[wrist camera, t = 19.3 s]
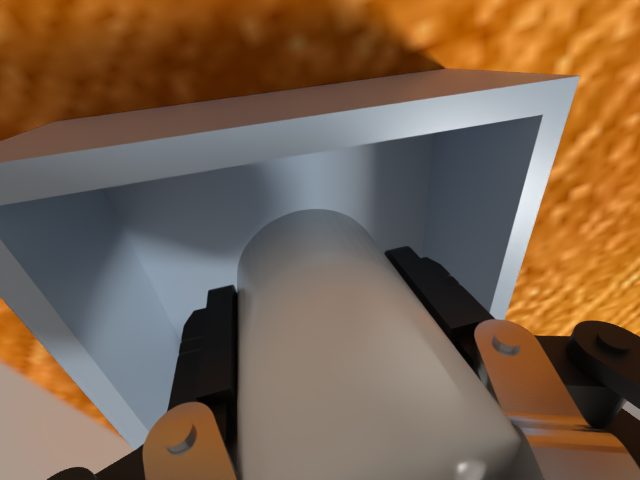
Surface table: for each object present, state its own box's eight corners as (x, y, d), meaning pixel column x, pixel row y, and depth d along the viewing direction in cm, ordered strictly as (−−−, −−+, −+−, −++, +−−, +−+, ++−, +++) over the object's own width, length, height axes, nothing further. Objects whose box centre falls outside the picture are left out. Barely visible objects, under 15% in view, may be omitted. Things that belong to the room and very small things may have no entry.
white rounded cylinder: (218, 226, 9) (188, 519, 3) (375, 195, 10) (576, 392, 4) (254, 339, 12) (272, 612, 6) (376, 307, 13) (499, 525, 7)
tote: (55, 121, 10) (-103, 178, 6) (446, 68, 13) (580, 75, 8) (223, 439, 22) (220, 548, 17) (413, 383, 24) (458, 466, 19)
